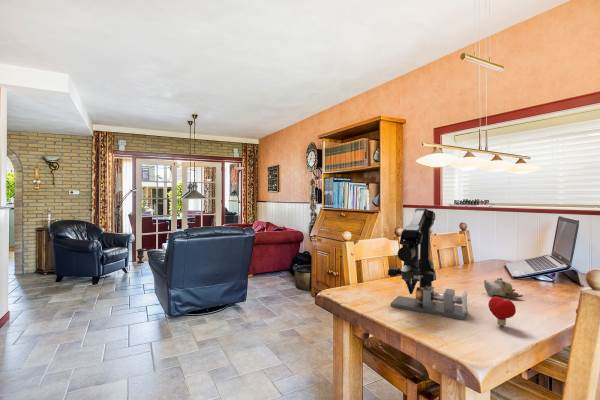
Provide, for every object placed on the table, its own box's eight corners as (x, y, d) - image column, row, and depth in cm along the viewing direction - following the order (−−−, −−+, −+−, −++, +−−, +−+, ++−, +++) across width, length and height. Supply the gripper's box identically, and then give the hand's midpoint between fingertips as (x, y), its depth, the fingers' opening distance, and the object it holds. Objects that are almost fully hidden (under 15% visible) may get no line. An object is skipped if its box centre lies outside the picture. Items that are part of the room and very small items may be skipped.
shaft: (418, 298, 140) (418, 285, 140) (462, 305, 131) (462, 291, 131) (415, 302, 136) (415, 288, 136) (461, 309, 127) (461, 295, 127)
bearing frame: (398, 298, 148) (398, 280, 148) (467, 310, 133) (467, 290, 133) (390, 306, 138) (390, 286, 138) (464, 320, 123) (464, 297, 123)
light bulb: (483, 322, 121) (483, 295, 121) (496, 320, 123) (497, 293, 123) (506, 332, 112) (507, 303, 112) (520, 329, 115) (521, 301, 114)
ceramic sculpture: (481, 273, 160) (515, 277, 156) (479, 291, 160) (514, 295, 156) (488, 279, 149) (525, 283, 146) (486, 298, 150) (523, 302, 146)
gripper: (384, 258, 137) (383, 295, 137) (431, 263, 127) (430, 303, 128) (391, 254, 147) (391, 288, 147) (436, 258, 137) (435, 295, 137)
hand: (411, 293), depth 139 cm, fingers closed
